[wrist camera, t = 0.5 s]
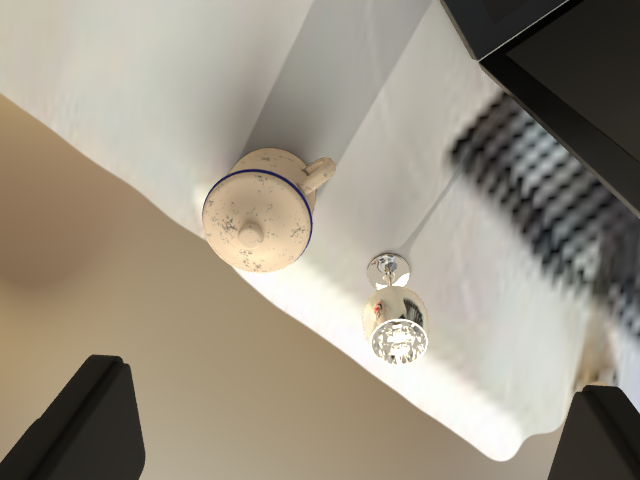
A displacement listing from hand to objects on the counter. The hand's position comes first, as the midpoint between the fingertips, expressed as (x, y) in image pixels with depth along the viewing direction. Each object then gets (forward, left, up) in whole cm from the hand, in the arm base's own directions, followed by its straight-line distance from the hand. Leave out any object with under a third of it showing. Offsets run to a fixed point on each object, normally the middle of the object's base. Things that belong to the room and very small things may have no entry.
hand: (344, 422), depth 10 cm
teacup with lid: (+1, -9, -37) cm, 38 cm away
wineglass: (+15, -6, -37) cm, 40 cm away
